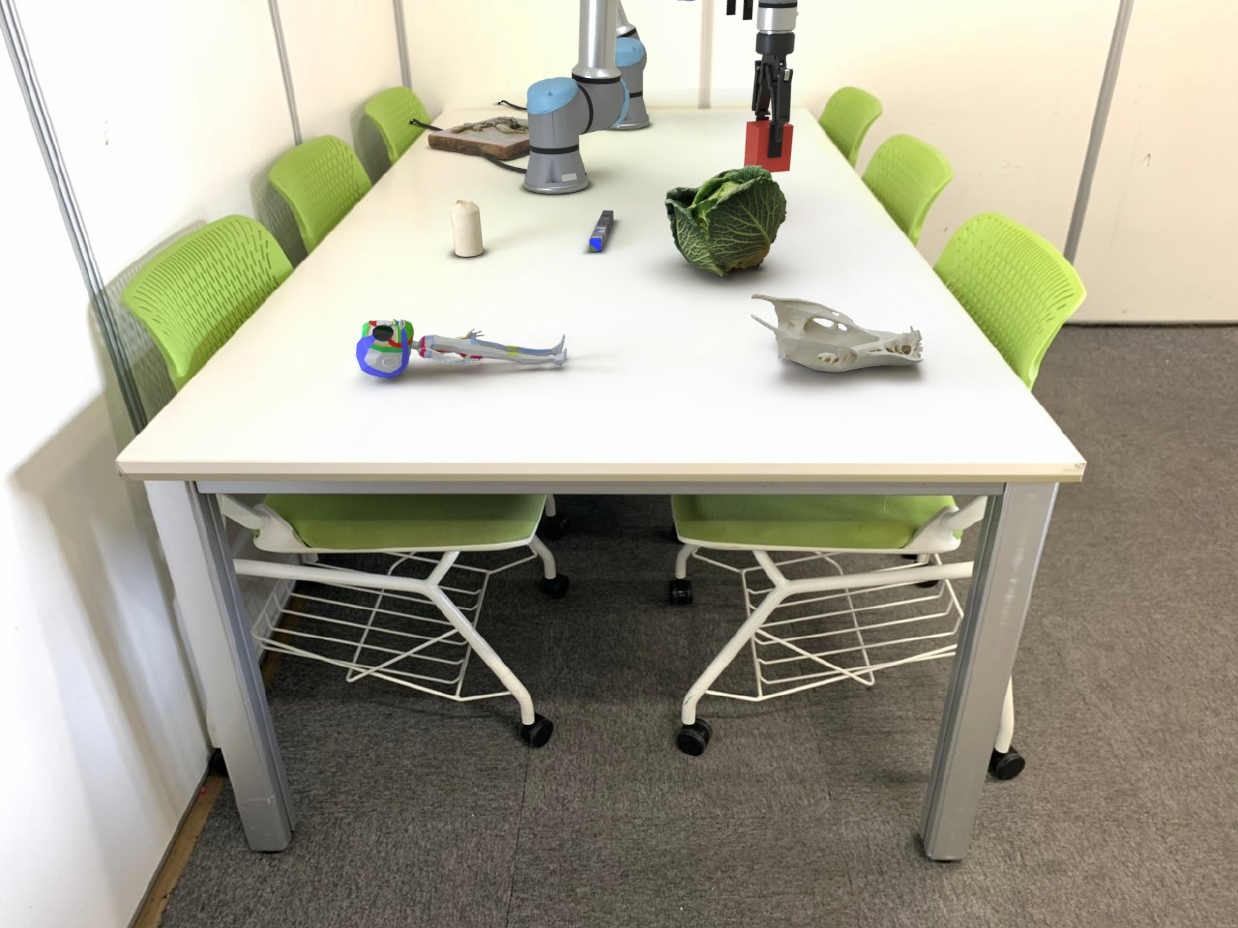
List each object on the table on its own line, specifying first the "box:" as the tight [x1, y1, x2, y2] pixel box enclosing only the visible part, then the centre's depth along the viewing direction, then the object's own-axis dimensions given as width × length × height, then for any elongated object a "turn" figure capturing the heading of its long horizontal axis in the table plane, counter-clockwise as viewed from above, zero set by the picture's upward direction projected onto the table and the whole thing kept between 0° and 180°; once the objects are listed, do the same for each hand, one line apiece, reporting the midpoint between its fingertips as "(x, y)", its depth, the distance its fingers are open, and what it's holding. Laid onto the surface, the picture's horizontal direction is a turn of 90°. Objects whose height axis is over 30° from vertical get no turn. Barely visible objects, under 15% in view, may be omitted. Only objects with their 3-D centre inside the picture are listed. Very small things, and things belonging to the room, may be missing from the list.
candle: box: [449, 199, 484, 258], centre depth 172 cm, size 6×6×10 cm
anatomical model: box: [750, 293, 925, 373], centre depth 129 cm, size 15×9×25 cm
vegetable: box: [664, 165, 788, 278], centre depth 161 cm, size 20×19×20 cm
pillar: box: [588, 209, 615, 252], centre depth 182 cm, size 2×2×20 cm
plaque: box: [427, 115, 530, 161], centre depth 252 cm, size 30×7×30 cm
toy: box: [353, 318, 568, 379], centre depth 130 cm, size 10×8×30 cm
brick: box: [743, 119, 795, 174], centre depth 186 cm, size 8×7×9 cm
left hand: (767, 153), depth 186 cm, fingers closed on brick, 7 cm apart
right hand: (738, 17), depth 265 cm, fingers open, 13 cm apart
